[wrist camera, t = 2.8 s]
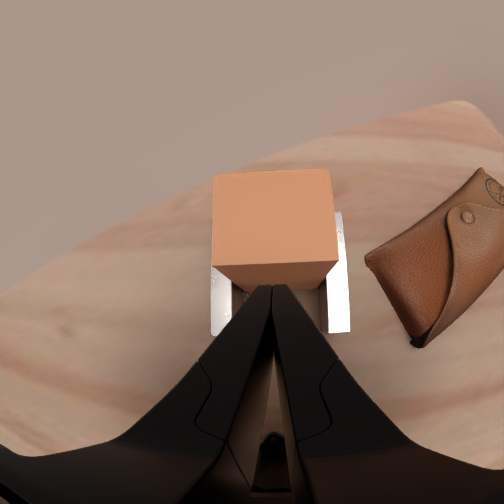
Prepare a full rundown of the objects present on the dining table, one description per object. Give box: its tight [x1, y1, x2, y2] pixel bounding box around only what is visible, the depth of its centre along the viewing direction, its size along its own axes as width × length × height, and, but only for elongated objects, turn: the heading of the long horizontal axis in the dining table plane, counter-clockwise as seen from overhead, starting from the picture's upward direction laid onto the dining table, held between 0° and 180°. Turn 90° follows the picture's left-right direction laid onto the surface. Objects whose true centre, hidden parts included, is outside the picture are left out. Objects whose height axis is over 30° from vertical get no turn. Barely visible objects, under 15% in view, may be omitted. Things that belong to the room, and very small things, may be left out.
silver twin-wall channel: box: [211, 212, 350, 336], centre depth 19 cm, size 7×8×5 cm
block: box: [211, 169, 339, 292], centre depth 17 cm, size 4×5×10 cm
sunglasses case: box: [365, 168, 504, 348], centre depth 19 cm, size 18×7×7 cm
